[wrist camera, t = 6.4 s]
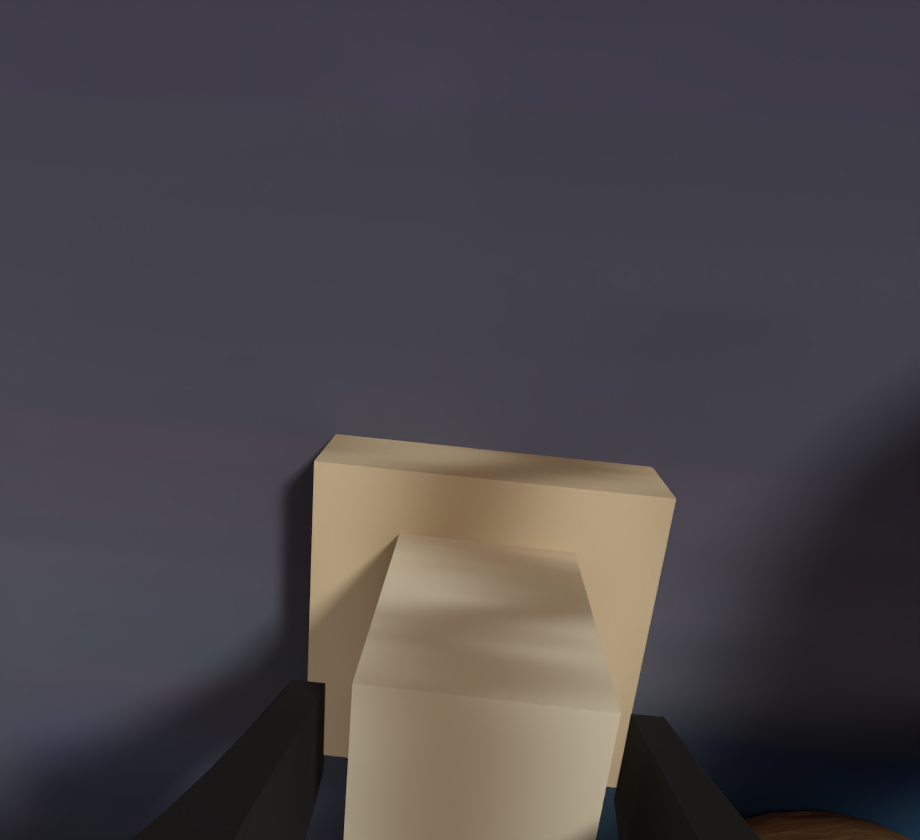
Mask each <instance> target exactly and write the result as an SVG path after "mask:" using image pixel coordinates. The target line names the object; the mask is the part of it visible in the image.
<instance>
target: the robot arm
mask: <svg viewBox="0 0 920 840" xmlns="http://www.w3.org/2000/svg"><path fill="white" fill-rule="evenodd" d="M325 684H326V683H320V682H310V681H300V680H293V681H292V682H290V683H289V684H288V685H287V686H286V687H285V688H284V689H283V691H282V692H281V693H280V694H279V695H278V696H277V698H276V699H275V700H274V701H273V702H272V703H271V705H270V706H269V707H268V708H267V709H266V710H265V711H264V713H263V714H262V715H261V716H260V717H259V718H258V719H257V720H256V721H255V722H254V724H253V725H252V726H251V727H250V728H249V729H248V730H247V731H246V732H245V733H244V735H243V736H242V737H241V738H240V739H239V740H238V741H237V742H236V743H235V744H234V745H233V746H232V747H231V748H230V749H229V750H228V751H227V752H226V753H225V754H224V755H223V756H222V757H221V758H220V759H219V760H218V762H217V763H216V764H215V765H214V766H213V767H212V768H211V769H210V770H209V771H208V772H206V773H205V774H204V775H203V776H202V777H201V778H200V779H199V780H198V781H197V782H196V783H195V784H194V785H193V786H192V787H191V788H190V789H188V790H187V791H186V792H185V793H184V794H183V795H182V796H181V797H180V798H179V799H178V800H177V801H176V802H175V803H174V804H173V805H171V806H170V807H169V808H168V809H167V810H166V811H165V812H164V813H163V814H161V815H160V816H159V817H158V818H157V819H156V820H155V821H153V822H152V823H151V824H150V825H149V826H148V827H146V828H145V829H144V830H143V831H142V832H141V833H139V834H138V835H137V836H136V837H134V838H133V839H132V840H305V837H306V834H307V831H308V828H309V824H310V821H311V817H312V813H313V809H314V805H315V802H316V797H317V793H318V789H319V785H320V781H321V777H322V773H323V761H324V723H325ZM614 803H615V811H616V818H617V825H618V833H619V839H620V840H761V839H760V838H759V837H758V836H757V834H756V833H755V832H754V831H753V830H752V828H751V827H750V826H749V825H748V824H747V822H746V821H745V820H744V819H743V818H742V816H741V815H740V814H739V813H738V811H737V810H736V809H735V808H734V807H733V805H732V804H731V803H730V802H729V800H728V799H727V798H726V797H725V796H724V794H723V793H722V792H721V791H720V789H719V788H718V787H717V786H716V784H715V783H714V782H713V780H712V779H711V778H710V777H709V775H708V774H707V773H706V771H705V770H704V769H703V768H702V766H701V765H700V764H699V762H698V761H697V760H696V758H695V757H694V756H693V755H692V753H691V752H690V751H689V749H688V748H687V747H686V745H685V744H684V743H683V741H682V740H681V739H680V737H679V736H678V735H677V734H676V732H675V731H674V730H673V728H672V727H671V726H670V725H669V723H668V722H667V721H666V719H665V718H664V717H656V716H646V715H637V714H631V716H630V721H629V727H628V732H627V737H626V742H625V747H624V752H623V757H622V763H621V768H620V773H619V778H618V783H617V788H616V793H615V798H614Z"/></svg>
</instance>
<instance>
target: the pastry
mask: <svg viewBox="0 0 920 840" xmlns="http://www.w3.org/2000/svg"><path fill="white" fill-rule="evenodd" d="M744 820H745V821H746V822H747V824H748V825H749V826H750V827H751V828H752V830H753V831H754V832H755V833H756V834H757V836H758V837H759V838H760V839H761V840H911V839H909V838H907V837H905V836H903V835H901V834H899V833H896V832H894V831H892V830H890V829H888V828H886V827H883V826H881V825H879V824H877V823H875V822H871V821H868V820H864V819H860V818H857V817H853V816H849V815H843V814H837V813H832V812H826V811H792V812H775V813H769V814H764V815H760V816H755V817H751V818H747V819H744Z"/></svg>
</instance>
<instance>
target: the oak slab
mask: <svg viewBox="0 0 920 840" xmlns="http://www.w3.org/2000/svg"><path fill="white" fill-rule="evenodd" d="M675 502H676V498H675V497H674V495H673V494H672V493H671V491H670V490H669V489H668V487H667V486H666V485H665V483H664V482H663V481H662V479H661V478H660V477H659V475H658V474H657V473H656V471H655V470H654V469H653V467H647V466H637V465H627V464H618V463H608V462H598V461H589V460H579V459H570V458H560V457H550V456H541V455H531V454H521V453H512V452H502V451H493V450H483V449H473V448H464V447H454V446H444V445H435V444H425V443H415V442H406V441H396V440H387V439H377V438H367V437H358V436H348V435H338V434H336V435H335V436H334V437H333V438H332V440H331V441H330V442H329V443H328V445H327V446H326V447H325V448H324V450H323V451H322V452H321V453H320V455H319V456H318V457H317V458H316V459H315V461H314V484H313V517H312V550H311V584H310V617H309V650H308V681H310V682H320V683H326V684H325V723H324V755H328V756H337V757H346V758H348V752H349V735H350V717H351V700H352V683H353V680H354V677H355V674H356V670H357V667H358V664H359V661H360V658H361V654H362V651H363V648H364V645H365V642H366V639H367V635H368V632H369V629H370V626H371V623H372V619H373V616H374V613H375V610H376V607H377V604H378V600H379V597H380V594H381V591H382V588H383V584H384V581H385V578H386V575H387V572H388V569H389V565H390V562H391V559H392V556H393V553H394V549H395V546H396V543H397V540H398V537H399V534H407V535H416V536H425V537H435V538H444V539H453V540H463V541H472V542H481V543H491V544H500V545H510V546H519V547H528V548H538V549H547V550H556V551H566V552H575V555H576V558H577V562H578V565H579V569H580V572H581V576H582V579H583V583H584V586H585V590H586V593H587V597H588V600H589V604H590V607H591V611H592V614H593V618H594V621H595V625H596V628H597V631H598V635H599V638H600V642H601V645H602V649H603V652H604V656H605V659H606V663H607V666H608V670H609V673H610V677H611V680H612V684H613V687H614V691H615V694H616V698H617V701H618V705H619V708H620V712H621V716H620V721H619V726H618V731H617V736H616V741H615V746H614V751H613V756H612V761H611V766H610V771H609V776H608V781H607V786H606V787H615V788H616V785H617V781H618V776H619V771H620V766H621V761H622V757H623V752H624V747H625V742H626V737H627V732H628V727H629V721H630V716H631V713H632V709H633V704H634V699H635V694H636V689H637V685H638V680H639V675H640V670H641V665H642V661H643V656H644V651H645V646H646V641H647V636H648V632H649V627H650V622H651V617H652V612H653V608H654V603H655V598H656V593H657V588H658V584H659V579H660V574H661V569H662V564H663V560H664V555H665V550H666V545H667V540H668V536H669V531H670V526H671V521H672V516H673V512H674V507H675Z"/></svg>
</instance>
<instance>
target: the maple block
mask: <svg viewBox="0 0 920 840" xmlns="http://www.w3.org/2000/svg"><path fill="white" fill-rule="evenodd" d="M620 716H621V712H620V708H619V705H618V701H617V698H616V694H615V691H614V687H613V684H612V680H611V677H610V673H609V670H608V666H607V663H606V659H605V656H604V652H603V649H602V645H601V642H600V638H599V635H598V631H597V628H596V625H595V621H594V618H593V614H592V611H591V607H590V604H589V600H588V597H587V593H586V590H585V586H584V583H583V579H582V576H581V572H580V569H579V565H578V562H577V558H576V555H575V552H566V551H556V550H547V549H538V548H528V547H519V546H510V545H500V544H491V543H481V542H472V541H463V540H453V539H444V538H435V537H425V536H416V535H407V534H399V537H398V540H397V543H396V546H395V549H394V553H393V556H392V559H391V562H390V565H389V569H388V572H387V575H386V578H385V581H384V584H383V588H382V591H381V594H380V597H379V600H378V604H377V607H376V610H375V613H374V616H373V619H372V623H371V626H370V629H369V632H368V635H367V639H366V642H365V645H364V648H363V651H362V654H361V658H360V661H359V664H358V667H357V670H356V674H355V677H354V680H353V683H352V700H351V717H350V735H349V752H348V770H347V788H346V805H345V823H344V840H596V836H597V831H598V826H599V821H600V816H601V811H602V806H603V801H604V796H605V791H606V786H607V781H608V776H609V771H610V766H611V761H612V756H613V751H614V746H615V741H616V736H617V731H618V726H619V721H620Z"/></svg>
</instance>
